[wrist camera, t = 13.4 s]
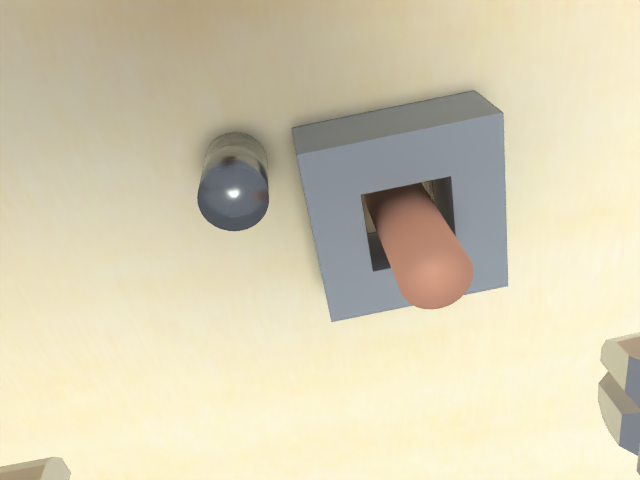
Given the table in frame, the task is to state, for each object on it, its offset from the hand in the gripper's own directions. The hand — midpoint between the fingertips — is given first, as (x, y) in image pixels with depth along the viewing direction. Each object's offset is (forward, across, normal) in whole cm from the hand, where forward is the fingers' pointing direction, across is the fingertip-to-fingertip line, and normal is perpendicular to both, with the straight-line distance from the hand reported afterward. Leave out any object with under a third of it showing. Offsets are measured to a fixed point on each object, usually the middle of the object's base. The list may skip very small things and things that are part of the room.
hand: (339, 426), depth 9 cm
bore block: (+30, -6, +11) cm, 33 cm away
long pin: (+30, -6, +11) cm, 33 cm away
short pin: (+30, +4, +7) cm, 31 cm away
